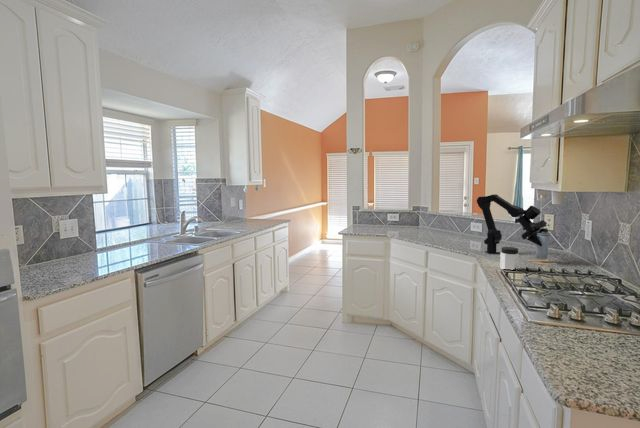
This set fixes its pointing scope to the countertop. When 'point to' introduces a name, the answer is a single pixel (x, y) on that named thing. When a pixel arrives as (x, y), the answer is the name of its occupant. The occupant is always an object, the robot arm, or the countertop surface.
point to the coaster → (541, 261)
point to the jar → (509, 258)
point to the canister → (542, 250)
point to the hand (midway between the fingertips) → (544, 245)
